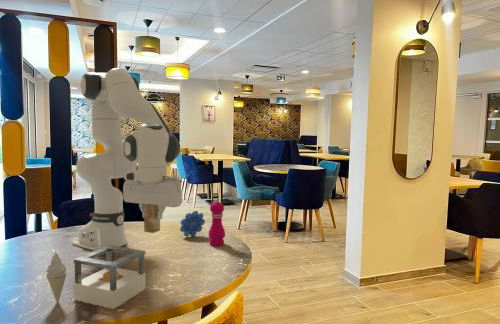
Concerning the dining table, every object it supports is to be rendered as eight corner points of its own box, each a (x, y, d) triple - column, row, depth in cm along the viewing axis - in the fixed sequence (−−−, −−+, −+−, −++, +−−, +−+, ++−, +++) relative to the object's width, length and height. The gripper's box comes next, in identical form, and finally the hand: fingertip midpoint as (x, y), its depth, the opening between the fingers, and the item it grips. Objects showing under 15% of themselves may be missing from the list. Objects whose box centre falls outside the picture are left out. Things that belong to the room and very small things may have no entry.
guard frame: (73, 283, 104) (73, 259, 103) (108, 266, 117) (108, 245, 116) (113, 291, 99) (113, 266, 98) (145, 273, 112) (145, 250, 111)
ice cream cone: (52, 298, 105) (50, 248, 103) (70, 298, 105) (69, 247, 104) (43, 307, 100) (42, 253, 98) (63, 306, 100) (61, 253, 99)
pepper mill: (222, 247, 154) (223, 200, 152) (206, 246, 155) (206, 199, 153) (226, 242, 161) (227, 197, 159) (211, 241, 162) (211, 196, 160)
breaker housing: (74, 300, 104) (73, 283, 104) (109, 281, 117) (108, 266, 117) (113, 309, 99) (113, 291, 99) (145, 288, 112) (145, 273, 112)
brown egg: (99, 292, 107) (99, 275, 106) (110, 286, 111) (110, 270, 110) (112, 294, 105) (111, 277, 105) (122, 288, 109) (122, 272, 109)
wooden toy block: (144, 231, 115) (144, 203, 114) (151, 229, 118) (150, 201, 118) (153, 233, 114) (153, 204, 113) (160, 230, 117) (160, 202, 116)
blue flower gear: (202, 232, 175) (202, 208, 174) (206, 236, 169) (206, 211, 168) (178, 234, 171) (178, 209, 170) (181, 238, 165) (181, 212, 164)
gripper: (186, 176, 114) (185, 219, 115) (132, 172, 121) (133, 213, 122) (175, 178, 108) (174, 224, 109) (119, 174, 115) (120, 217, 117)
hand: (152, 218), depth 116 cm, fingers closed on wooden toy block, 3 cm apart
